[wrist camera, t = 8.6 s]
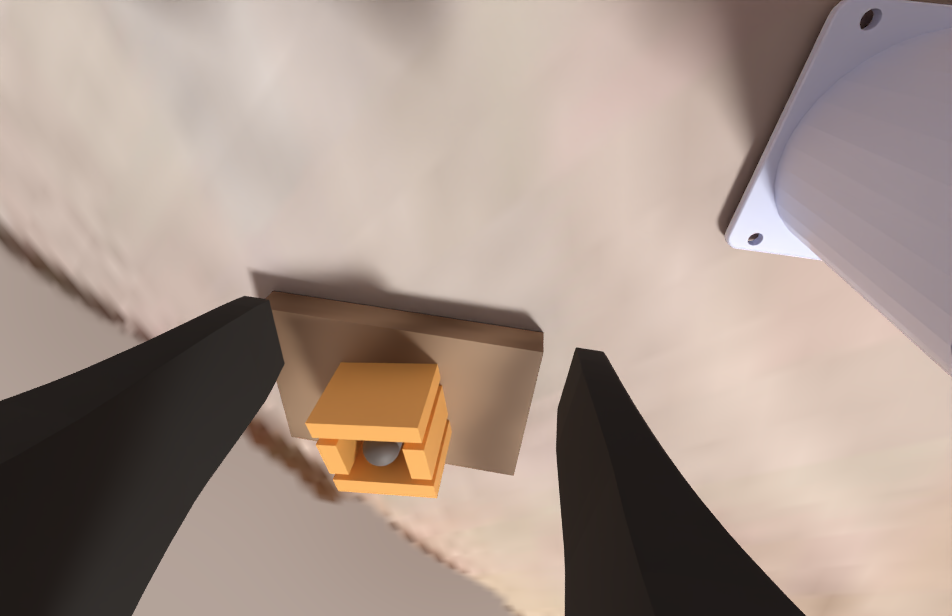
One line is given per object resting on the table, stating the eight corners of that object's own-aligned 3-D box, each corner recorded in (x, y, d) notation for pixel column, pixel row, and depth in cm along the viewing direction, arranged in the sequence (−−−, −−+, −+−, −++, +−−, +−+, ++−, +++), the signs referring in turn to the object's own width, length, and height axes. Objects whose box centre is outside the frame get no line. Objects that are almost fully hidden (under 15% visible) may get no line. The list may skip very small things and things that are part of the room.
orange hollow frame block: (437, 363, 21) (417, 428, 18) (451, 432, 24) (436, 498, 21) (340, 362, 22) (304, 423, 19) (365, 428, 25) (338, 491, 22)
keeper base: (543, 332, 21) (542, 417, 16) (515, 454, 27) (508, 541, 22) (273, 290, 22) (204, 361, 17) (302, 417, 28) (256, 494, 23)
